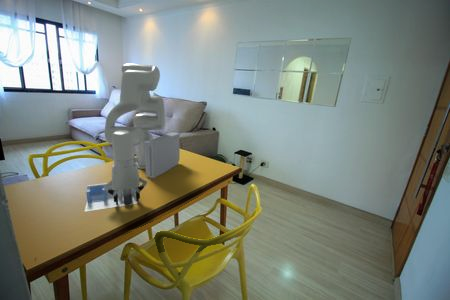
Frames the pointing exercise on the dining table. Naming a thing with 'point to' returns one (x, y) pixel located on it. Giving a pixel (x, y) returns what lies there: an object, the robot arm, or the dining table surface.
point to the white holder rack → (104, 198)
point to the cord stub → (127, 196)
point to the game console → (162, 154)
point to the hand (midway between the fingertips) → (127, 201)
